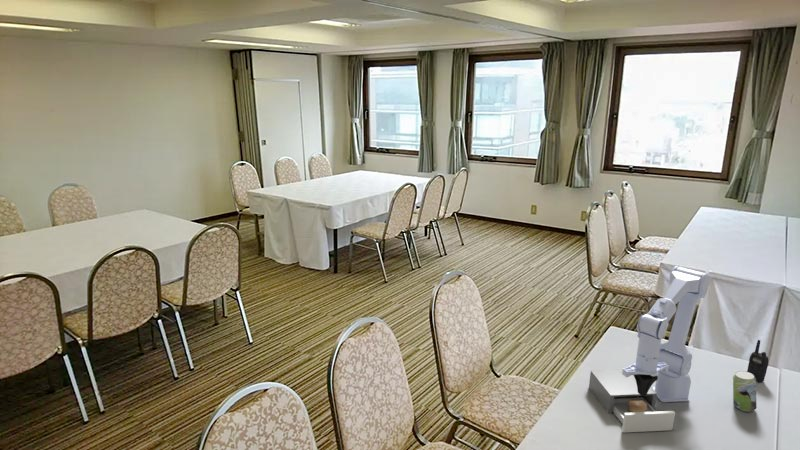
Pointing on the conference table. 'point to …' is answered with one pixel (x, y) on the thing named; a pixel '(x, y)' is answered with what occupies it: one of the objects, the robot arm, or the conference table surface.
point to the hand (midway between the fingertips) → (641, 393)
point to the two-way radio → (758, 364)
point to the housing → (616, 387)
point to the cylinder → (636, 406)
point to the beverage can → (744, 391)
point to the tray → (642, 417)
